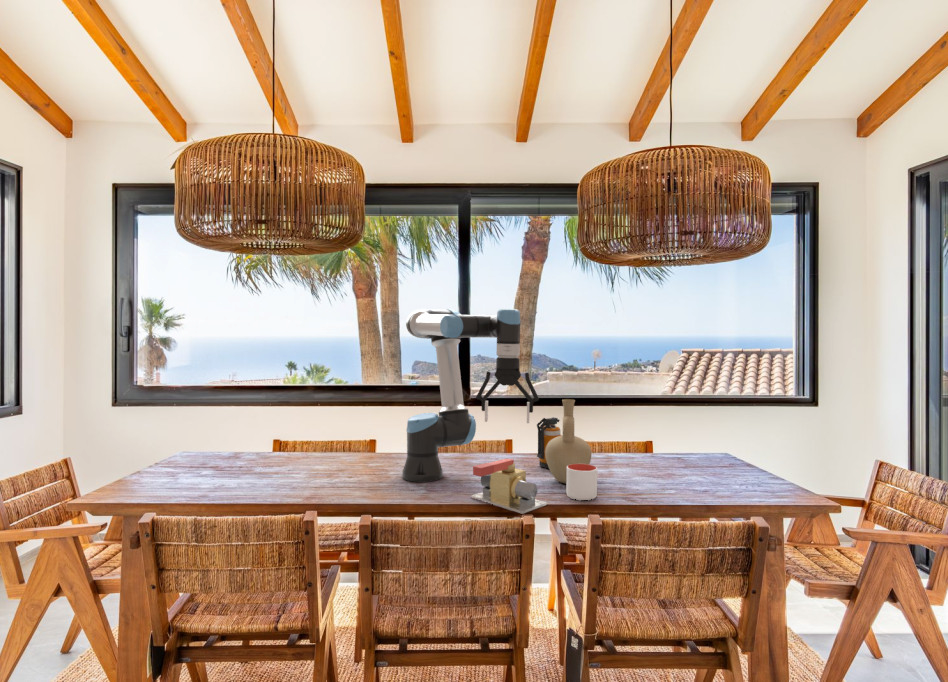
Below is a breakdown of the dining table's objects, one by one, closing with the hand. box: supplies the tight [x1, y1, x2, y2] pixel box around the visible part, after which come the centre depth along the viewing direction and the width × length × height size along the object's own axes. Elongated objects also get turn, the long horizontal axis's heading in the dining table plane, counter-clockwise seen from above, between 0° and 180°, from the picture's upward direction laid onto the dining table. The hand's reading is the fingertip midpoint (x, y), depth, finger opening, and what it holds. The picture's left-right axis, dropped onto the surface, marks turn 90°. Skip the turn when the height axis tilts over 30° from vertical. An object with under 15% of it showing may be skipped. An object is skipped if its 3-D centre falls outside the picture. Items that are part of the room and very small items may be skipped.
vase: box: [545, 398, 592, 484], centre depth 201 cm, size 17×17×30 cm
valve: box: [470, 467, 548, 515], centre depth 178 cm, size 22×12×10 cm, turn 45°
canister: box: [536, 416, 563, 469], centre depth 222 cm, size 9×11×20 cm
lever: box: [472, 458, 516, 478], centre depth 174 cm, size 17×4×4 cm, turn 135°
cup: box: [565, 464, 598, 501], centre depth 183 cm, size 10×10×10 cm
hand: (507, 421), depth 179 cm, fingers open, 13 cm apart
